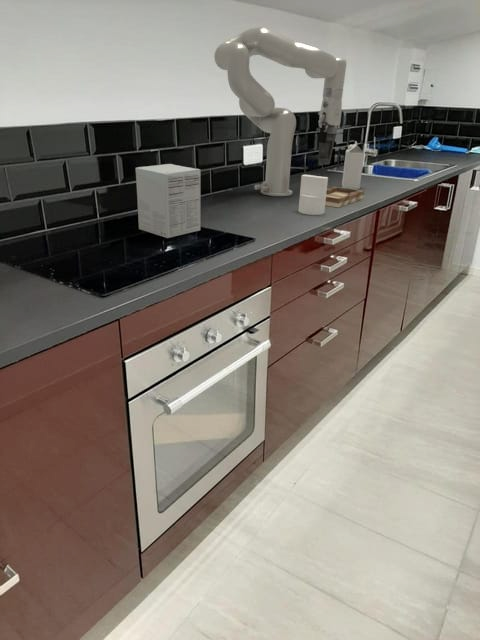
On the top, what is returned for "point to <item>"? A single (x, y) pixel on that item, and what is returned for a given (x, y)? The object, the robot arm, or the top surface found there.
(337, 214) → the top surface
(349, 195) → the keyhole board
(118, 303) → the top surface
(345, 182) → the milk carton
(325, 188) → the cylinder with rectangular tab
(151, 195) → the supplement box
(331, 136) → the beverage cup
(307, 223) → the top surface
